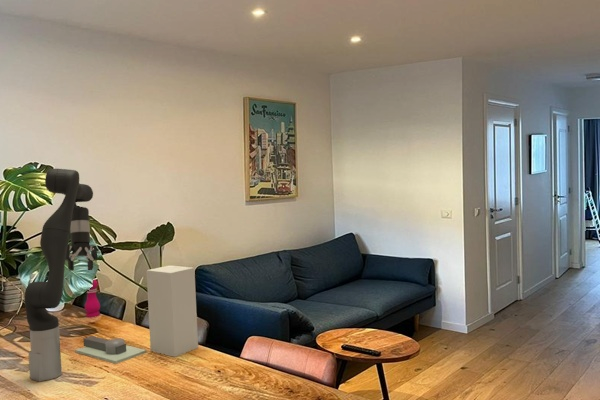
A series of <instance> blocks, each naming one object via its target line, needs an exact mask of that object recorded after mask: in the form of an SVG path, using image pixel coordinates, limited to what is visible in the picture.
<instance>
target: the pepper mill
mask: <svg viewBox="0 0 600 400" xmlns="http://www.w3.org/2000/svg"><path fill="white" fill-rule="evenodd" d="M97 287H98V281H97V280H96V279H94V281H93V287H92V288H91V289H90V290H89V291H87V292H86V295H87V297H86V301H85V303H84V310H85V311H86V312H85V316H86V317H87V318H96V317H98V315H99V316H100V311H99V310H100V309H101V304H100V301H99V300H98V297H97V292H98V288H97ZM95 316H96V317H95Z"/></svg>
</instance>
